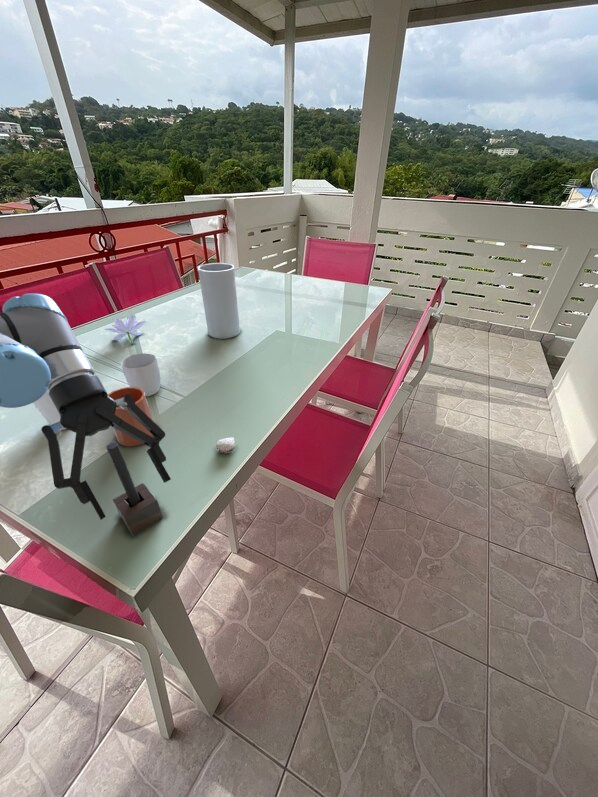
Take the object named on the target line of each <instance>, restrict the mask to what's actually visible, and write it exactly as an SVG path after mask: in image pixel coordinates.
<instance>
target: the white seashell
mask: <svg viewBox="0 0 598 797" xmlns="http://www.w3.org/2000/svg"><path fill="white" fill-rule="evenodd" d="M235 447H236V441H235V438H234V437H226V438H221V439H219V440H217V442H216V443H215V448H216V451H218V452H219V453H221V454H230V453H232V452H233V451H234V449H235Z"/></svg>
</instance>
